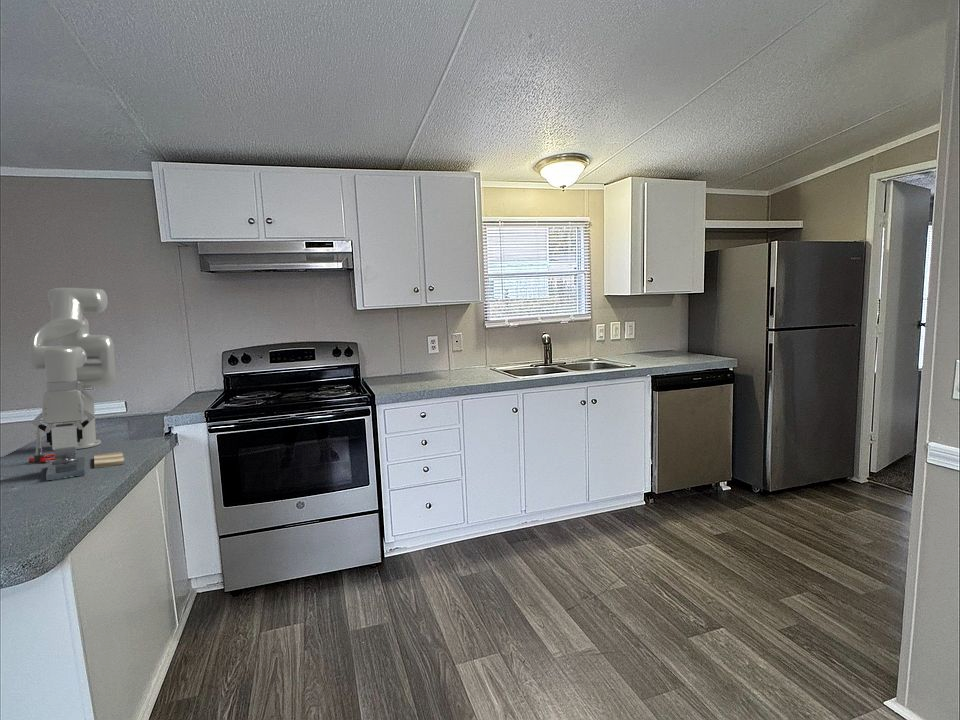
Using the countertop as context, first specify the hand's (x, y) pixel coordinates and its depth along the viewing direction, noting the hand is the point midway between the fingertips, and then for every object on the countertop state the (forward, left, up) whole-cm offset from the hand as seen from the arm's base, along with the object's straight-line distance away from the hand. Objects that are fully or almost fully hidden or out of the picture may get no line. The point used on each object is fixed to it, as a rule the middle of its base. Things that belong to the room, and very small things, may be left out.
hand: (65, 442), depth 159 cm
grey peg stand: (0, 0, -9) cm, 9 cm away
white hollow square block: (0, 0, -1) cm, 1 cm away
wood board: (-6, +11, -9) cm, 16 cm away
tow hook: (-21, -5, -10) cm, 24 cm away
